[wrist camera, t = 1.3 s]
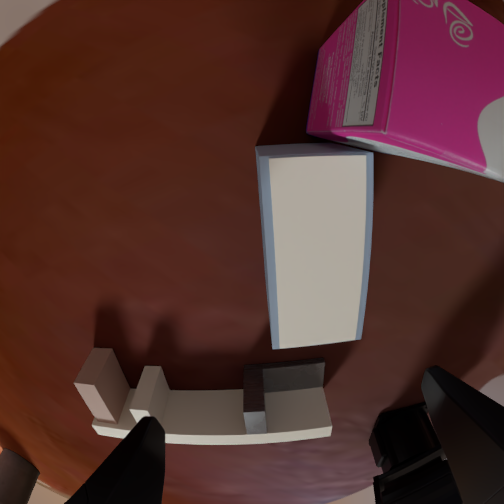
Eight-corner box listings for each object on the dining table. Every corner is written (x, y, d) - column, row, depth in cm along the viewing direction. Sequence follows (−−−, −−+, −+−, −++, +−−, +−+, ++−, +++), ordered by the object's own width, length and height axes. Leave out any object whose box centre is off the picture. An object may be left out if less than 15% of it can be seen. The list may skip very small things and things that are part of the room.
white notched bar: (324, 339, 23) (339, 384, 18) (320, 392, 25) (330, 435, 21) (88, 347, 23) (66, 386, 19) (113, 396, 26) (98, 434, 21)
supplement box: (402, 71, 15) (534, 45, 5) (388, 155, 18) (520, 200, 7) (316, 44, 15) (399, -41, 4) (302, 134, 17) (381, 148, 7)
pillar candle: (45, 473, 39) (25, 525, 25) (32, 475, 41) (13, 521, 27) (8, 445, 36) (-18, 497, 22) (-1, 449, 38) (-24, 495, 24)
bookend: (323, 357, 24) (336, 403, 19) (321, 381, 25) (332, 426, 20) (243, 365, 24) (243, 412, 19) (247, 389, 25) (247, 434, 20)
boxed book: (329, 142, 17) (374, 153, 11) (330, 276, 21) (361, 340, 14) (255, 146, 18) (259, 156, 11) (265, 282, 21) (272, 350, 14)
